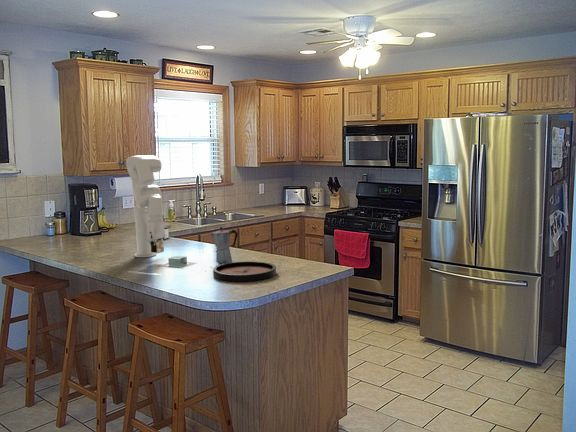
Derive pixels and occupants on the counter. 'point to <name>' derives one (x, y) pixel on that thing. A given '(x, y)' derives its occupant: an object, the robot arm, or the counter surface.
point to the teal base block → (177, 260)
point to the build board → (177, 266)
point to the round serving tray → (244, 272)
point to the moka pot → (223, 245)
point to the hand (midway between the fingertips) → (157, 250)
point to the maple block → (159, 246)
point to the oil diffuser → (166, 231)
